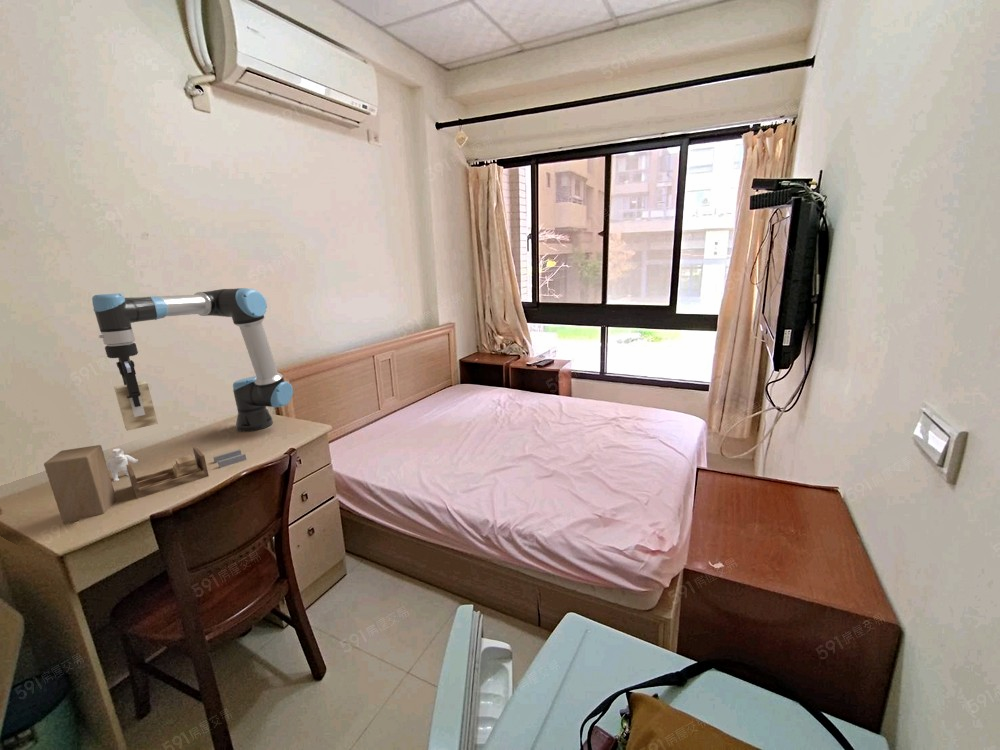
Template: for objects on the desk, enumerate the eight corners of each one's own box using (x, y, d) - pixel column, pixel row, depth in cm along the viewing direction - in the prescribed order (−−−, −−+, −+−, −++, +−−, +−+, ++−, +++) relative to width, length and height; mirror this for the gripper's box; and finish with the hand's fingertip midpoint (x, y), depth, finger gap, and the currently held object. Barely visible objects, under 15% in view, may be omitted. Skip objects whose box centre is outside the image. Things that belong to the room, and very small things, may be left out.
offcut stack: (196, 469, 160) (193, 452, 158) (202, 475, 154) (198, 459, 153) (173, 475, 155) (169, 459, 153) (178, 483, 149) (174, 466, 148)
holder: (241, 455, 173) (239, 447, 172) (249, 462, 166) (248, 454, 165) (212, 463, 166) (210, 456, 165) (219, 471, 159) (218, 463, 158)
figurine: (113, 487, 150) (104, 456, 147) (104, 484, 153) (95, 452, 150) (144, 476, 158) (136, 445, 155) (134, 472, 161) (126, 442, 158)
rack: (200, 468, 162) (195, 446, 160) (209, 478, 154) (204, 455, 152) (132, 489, 149) (126, 465, 146) (137, 501, 140) (131, 476, 138)
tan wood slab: (155, 420, 147) (145, 381, 143) (157, 423, 144) (147, 383, 141) (125, 427, 142) (113, 386, 138) (126, 430, 139) (115, 389, 135)
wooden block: (78, 508, 137) (60, 450, 132) (118, 500, 141) (101, 444, 136) (62, 525, 129) (42, 463, 123) (105, 516, 132) (87, 456, 127)
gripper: (101, 342, 139) (120, 411, 145) (107, 349, 128) (127, 423, 134) (131, 339, 144) (148, 405, 150) (139, 344, 133) (157, 416, 139)
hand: (138, 413), depth 142 cm, fingers closed on tan wood slab, 4 cm apart
